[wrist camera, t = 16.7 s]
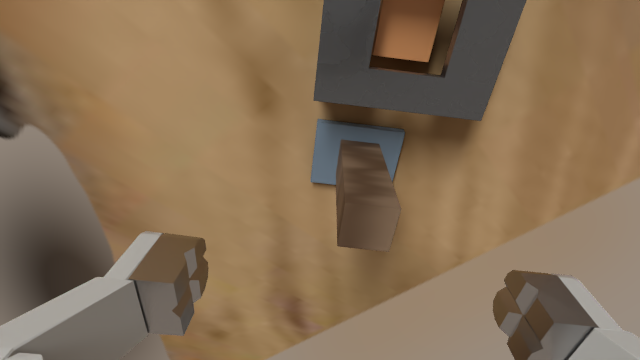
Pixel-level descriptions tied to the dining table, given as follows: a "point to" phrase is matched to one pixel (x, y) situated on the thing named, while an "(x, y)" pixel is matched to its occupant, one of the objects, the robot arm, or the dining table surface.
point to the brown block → (364, 198)
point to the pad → (335, 131)
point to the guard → (411, 87)
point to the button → (407, 28)
